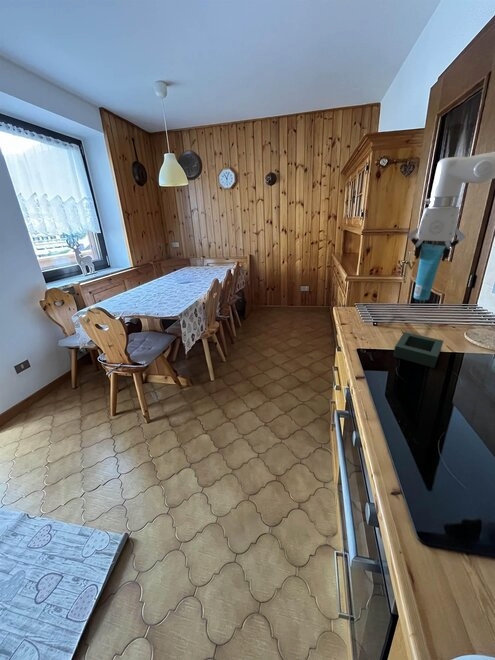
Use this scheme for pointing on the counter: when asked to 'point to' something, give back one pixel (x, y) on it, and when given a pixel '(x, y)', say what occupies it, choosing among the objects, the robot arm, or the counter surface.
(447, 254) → the robot arm
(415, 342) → the dark green square tray
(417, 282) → the tube
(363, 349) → the counter surface
